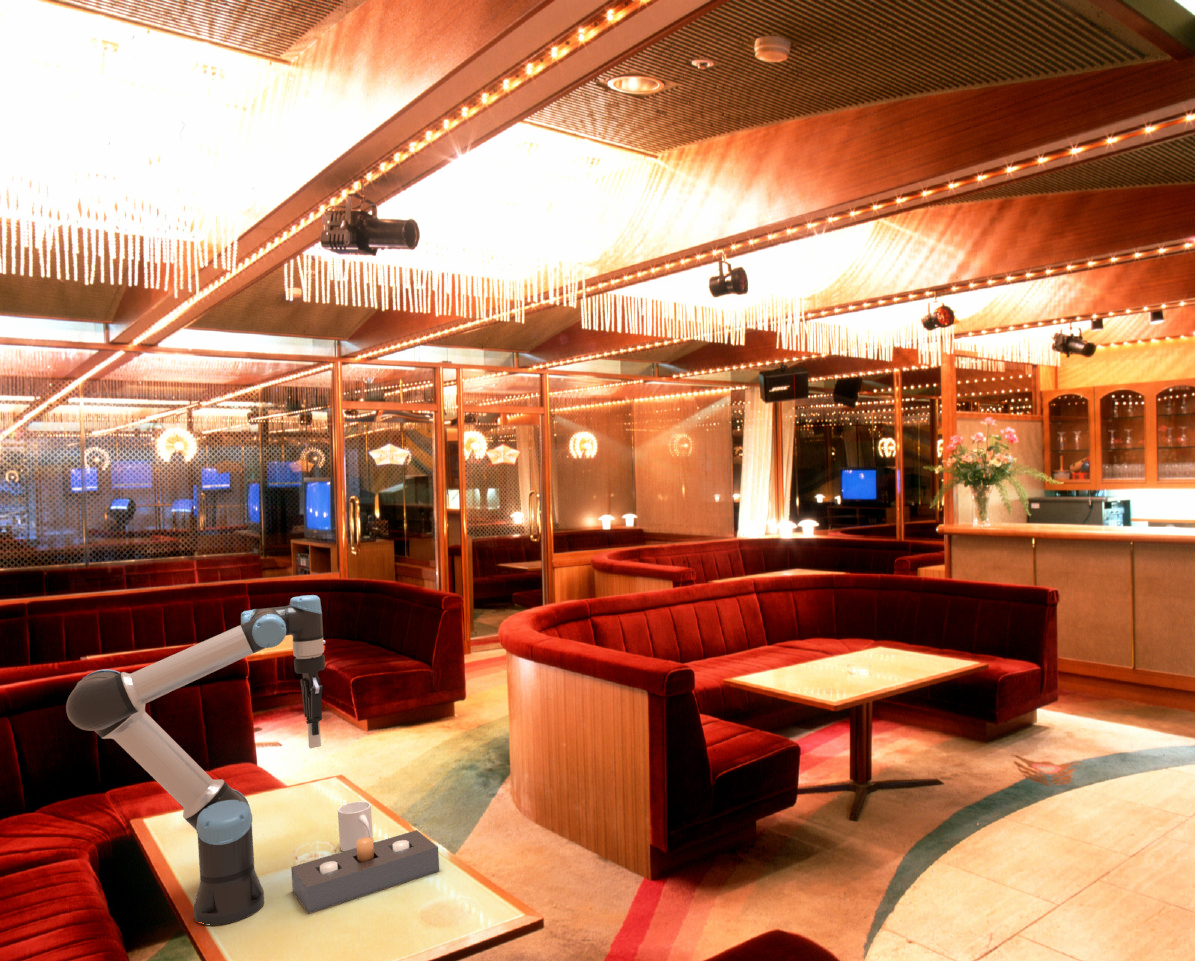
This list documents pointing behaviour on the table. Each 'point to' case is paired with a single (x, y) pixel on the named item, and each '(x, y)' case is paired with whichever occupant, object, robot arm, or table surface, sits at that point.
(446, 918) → the table surface
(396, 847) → the cream rounded knob
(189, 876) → the table surface
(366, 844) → the knob mid
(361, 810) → the mug
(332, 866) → the knob near
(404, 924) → the table surface
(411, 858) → the panel
